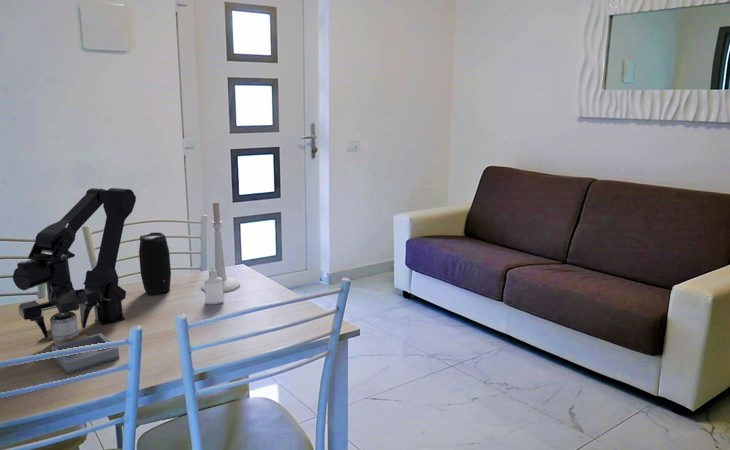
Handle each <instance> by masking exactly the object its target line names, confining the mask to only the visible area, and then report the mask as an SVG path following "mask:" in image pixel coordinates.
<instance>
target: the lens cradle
mask: <svg viewBox="0 0 730 450" xmlns="http://www.w3.org/2000/svg"><path fill="white" fill-rule="evenodd" d="M46 330H47V335H48V338H47V339H46V340H49V339H53V338H52V332H51V326H48V327H47V326H46ZM43 336H44V335H43ZM85 337H88V335H87V334H82V335H80V336H79V335H78V337H75V338H71V339H67V340H64V341H60V342H57V345H60V344H63V343H67V342H71V341H74V340H78V339H81V338H85ZM44 338H45V336H44Z"/></svg>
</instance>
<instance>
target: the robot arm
mask: <svg viewBox="0 0 730 450" xmlns="http://www.w3.org/2000/svg"><path fill="white" fill-rule="evenodd" d="M136 201H137V196H136V194H135V193H134V191H133V190H132V189H130V188H129V189H128V188H117V187H111V188H108V189H105V188H97V187H96V188H94V187H93V188H88V190H87V191H86V192H85V195H83V197H82V198H81V199H79V201H78V202H77V203H76V204H75V205H73V207H71V209H70V210H69V211H68V212H67V213H66V214H65V215H64V216H63V217H62V218H61V219H60V220H58V221H56V222H54V223H52V224H49V225H47V226H46V227H45V228H43V229H41V231H39V232H38V233H37V234H36V236H35V241H34V243H33V246H32V248H31V250H30V253H29V255H28V257H27V259H28V260H26V261H20V262H17V264H16V266H17V268H15V269H14V271H13V274H12V280H13V281H12V282H14V285H15V286H16V287H17V288H18V289H19V290H21V291H28V290H29V289H32V288H33V289H34V288H35V287H37V286H40V285H44V284H45V285H46V286H45V287H46V293H47V295H46V296H47V300H48V301H47V302H41V303H38V301H36V300H32V301H27V302H22V303H20V304H19V305H18V313H19V315H20V316H21V318H22V319H23V320H24V321H28V320H29V321H30V322H34V323H36V326H38V328H39V329H40V331H41V333H42V335H43V336H45V337H44V338H45V339H46V340H48V339H47V338H48V335H47V330H46V328H47V326H46V324H45V318H44V315H42V314H43V311H47V310H52V309H57V310H58V313H67V312H73V311H78V310H79V312H80V313H79V314H80V323H81V328H82V329H86V327H87V322H88V319H89V315H90V313H91V310H92V309H93V310H94V316H95V317H94V318H95V320H96V321H97V322H99V324H101V325H108V324H112V323H116V322H119V321H123V320H126V316H124V313H123V304H122V302H123V300H125V299H126V295H127V291H126V290H125V289H123V288H122V287H120V286H119V276H118V273H117V270H116V265H117V259H118V257H119V256H118V254H119V250H120V245H121V240H122V236H123V231H124V226H125V222H126V220H127V218H128V217H129V216H130V215H131V213H132V212H133V210H134V207H135V204H136ZM101 206H103V207H102V208H103V211H104V213H105V216H106V218H105V222H104V223H105V224H104V228H103V233H102V237H101V242H100V246H99V250H98V251H99V252H98V256H97V261H96V264H95V266H94V268H92V270H89V269H88V270H87V271H86V273H85V280H84V282H83V283H82V284H83V285H84V288H80V289H74V285H73V282H72V280H71V271H70V263H69V260H70V259H72V258H74V257H75V256H76V254H75V253H74V252H71V251H70V248H71V247H72V245H73V243H74V242H75V240H76V235H77V232H78V231H79V230H80V228H82V227H83V226H84V224H85V223H86V222H87V221H88V220H89V219H90V218H91V217H92V216H93V215H94V214H95V212H96V211H98V209H100V207H101Z"/></svg>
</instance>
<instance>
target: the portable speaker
mask: <svg viewBox="0 0 730 450" xmlns="http://www.w3.org/2000/svg"><path fill="white" fill-rule="evenodd" d="M138 247H139V248H138V257H139V267H140V268H139V270H140V276H141V281H142V285H143V288H144V291H145V293H146V295H148V296H158V295H159V294H160V293H163V292H166V293H168V292H171V279H172V271H171V269H172V268H171V258H170V257H171V255H170V250H169V246H168V241H167V238H166V235H165V234H163V232H157V231H154V232H150V233H148V234H144V235H140V236H139V246H138Z"/></svg>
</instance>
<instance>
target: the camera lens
mask: <svg viewBox="0 0 730 450" xmlns="http://www.w3.org/2000/svg"><path fill="white" fill-rule="evenodd" d="M49 323H50V327H51V332H52V338H51V339H52V341H53V342H54V346H56V345H57V342H60V341H64V340H67V339H71V338H75V337H78V336H79V334H80V333H79V326H78V317H77V314H76V313H75V312H73V311H69V312H67V313H59V312H56V313H55V314H52V316H50V318H49Z"/></svg>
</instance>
